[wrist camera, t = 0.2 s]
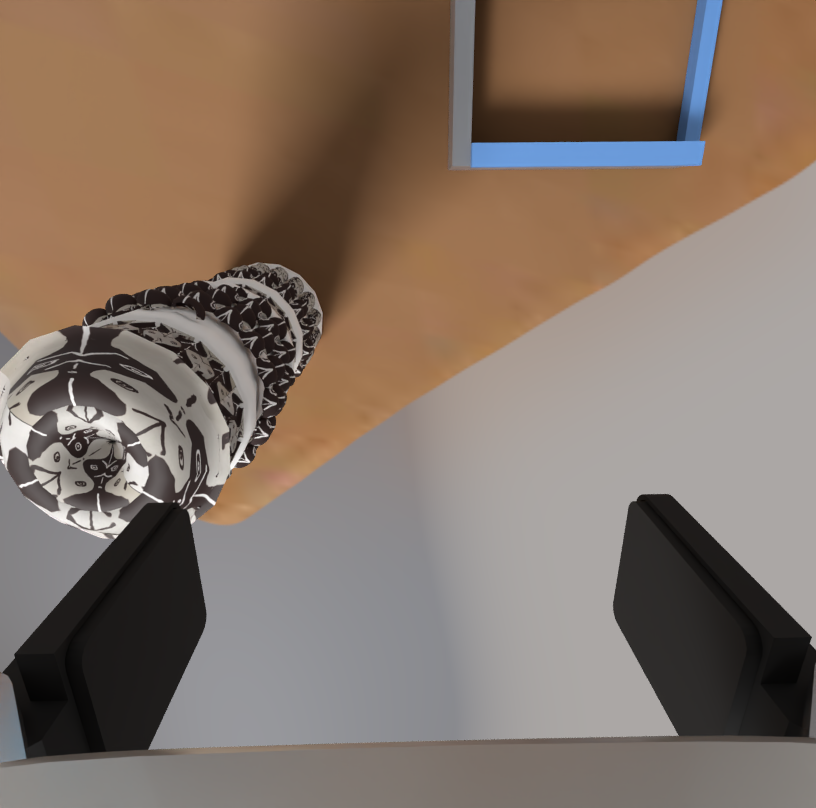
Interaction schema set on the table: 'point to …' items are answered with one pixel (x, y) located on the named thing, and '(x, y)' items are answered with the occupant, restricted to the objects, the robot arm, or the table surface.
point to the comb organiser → (577, 153)
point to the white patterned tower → (155, 395)
